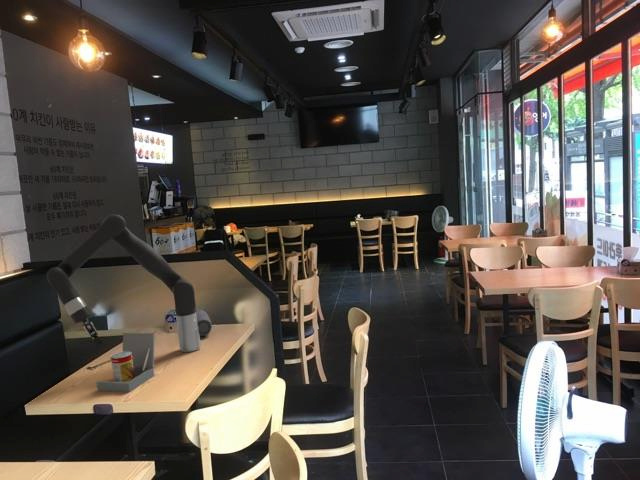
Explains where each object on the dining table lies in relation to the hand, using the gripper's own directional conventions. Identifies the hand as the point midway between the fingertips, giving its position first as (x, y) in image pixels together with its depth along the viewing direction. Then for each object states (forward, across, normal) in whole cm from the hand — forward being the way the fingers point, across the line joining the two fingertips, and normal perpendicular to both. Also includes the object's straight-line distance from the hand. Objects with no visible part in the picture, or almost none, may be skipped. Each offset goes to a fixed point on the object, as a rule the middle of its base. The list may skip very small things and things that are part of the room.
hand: (100, 345), depth 220 cm
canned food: (+18, -9, 0) cm, 20 cm away
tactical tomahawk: (+9, +23, 0) cm, 25 cm away
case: (+19, -8, -2) cm, 20 cm away
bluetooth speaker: (+22, +40, -44) cm, 63 cm away
